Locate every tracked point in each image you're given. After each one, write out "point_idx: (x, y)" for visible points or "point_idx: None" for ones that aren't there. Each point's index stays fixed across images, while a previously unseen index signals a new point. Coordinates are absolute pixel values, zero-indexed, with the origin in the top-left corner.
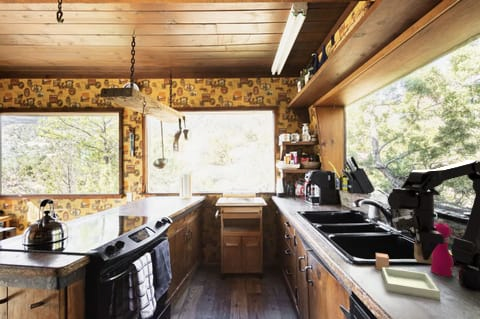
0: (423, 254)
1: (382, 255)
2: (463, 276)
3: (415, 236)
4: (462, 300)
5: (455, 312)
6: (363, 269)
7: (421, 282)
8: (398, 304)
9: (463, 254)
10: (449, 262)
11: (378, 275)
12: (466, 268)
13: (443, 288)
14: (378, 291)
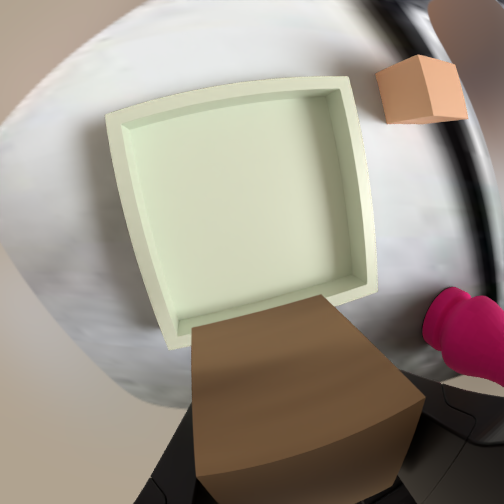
0: (177, 437)
1: (445, 89)
2: None
3: (498, 459)
4: None
5: (106, 362)
6: (332, 17)
7: (310, 264)
8: (27, 185)
9: (396, 481)
10: (452, 366)
11: (301, 70)
12: None
13: None
14: (95, 89)
